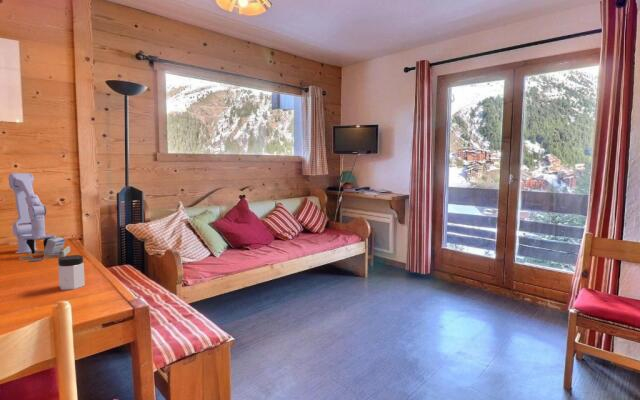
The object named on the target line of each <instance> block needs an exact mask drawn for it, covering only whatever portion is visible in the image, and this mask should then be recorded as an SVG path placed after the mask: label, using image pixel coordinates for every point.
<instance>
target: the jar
mask: <svg viewBox="0 0 640 400" xmlns="http://www.w3.org/2000/svg"><path fill="white" fill-rule="evenodd" d="M57 260H58V261H57V262H58V267H57V269H58V284H59V285H58V287H59V288H60V290H61V291H69V290H77V289H79V288H82V287H85V285H86V284H85V283H86V282H85V263H84V256H83V255H81V254H70V255H66V256H64V257H58V259H57Z"/></svg>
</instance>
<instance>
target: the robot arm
mask: <svg viewBox="0 0 640 400" xmlns="http://www.w3.org/2000/svg"><path fill="white" fill-rule="evenodd" d="M34 181H35V178H34V175H33V174H32V173H31V172H29V173H27V172H26V173H21V172H20V173H18V172H17V173H12V172H10V174H8V185H9V189H10V190H12V191H13V193H14V197H15V198H14V199H15V205H16V212H17V220H15V221H14V222H13V223H12V234H13V235H14V236H15V237H16V238H17V251H16V252H14V253H15V254H24V253H27V254H28V252H29V251H32V254H31V255H35V254H34V253H35V251H38V249H39V248H38V247H37V246H36V245H37V243H36V241H37V240H42V241H43V247H44V249H43V251H44V250H45V247H46V243H47V240H48V239H51V238H56V237H57V236H56V234H46V225H45V224H46V220H45V219H46V217H45V216H46V215H47V207H46V205H45V204H44V203H42V202H41V200H40V197H39V196H38V194H37V193H36V194H35V192H34V188H33V184H34Z"/></svg>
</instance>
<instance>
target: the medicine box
mask: <svg viewBox="0 0 640 400" xmlns="http://www.w3.org/2000/svg"><path fill="white" fill-rule="evenodd" d="M65 243H66V238H64V237H61V236H56V238H51V239H48V240H47V243H46V247H45V250H44V249H43V251H44V253H43V254H42V255H53V254H62V249H63V248H64V245H65Z"/></svg>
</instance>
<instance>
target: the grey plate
mask: <svg viewBox="0 0 640 400" xmlns="http://www.w3.org/2000/svg"><path fill="white" fill-rule="evenodd" d="M62 251H63V249H62ZM44 259H45V258H44V257H39V258H36V257H35V258H32V259H29V260H27V261H28V263H33V262H42V261H43V260H44Z"/></svg>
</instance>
